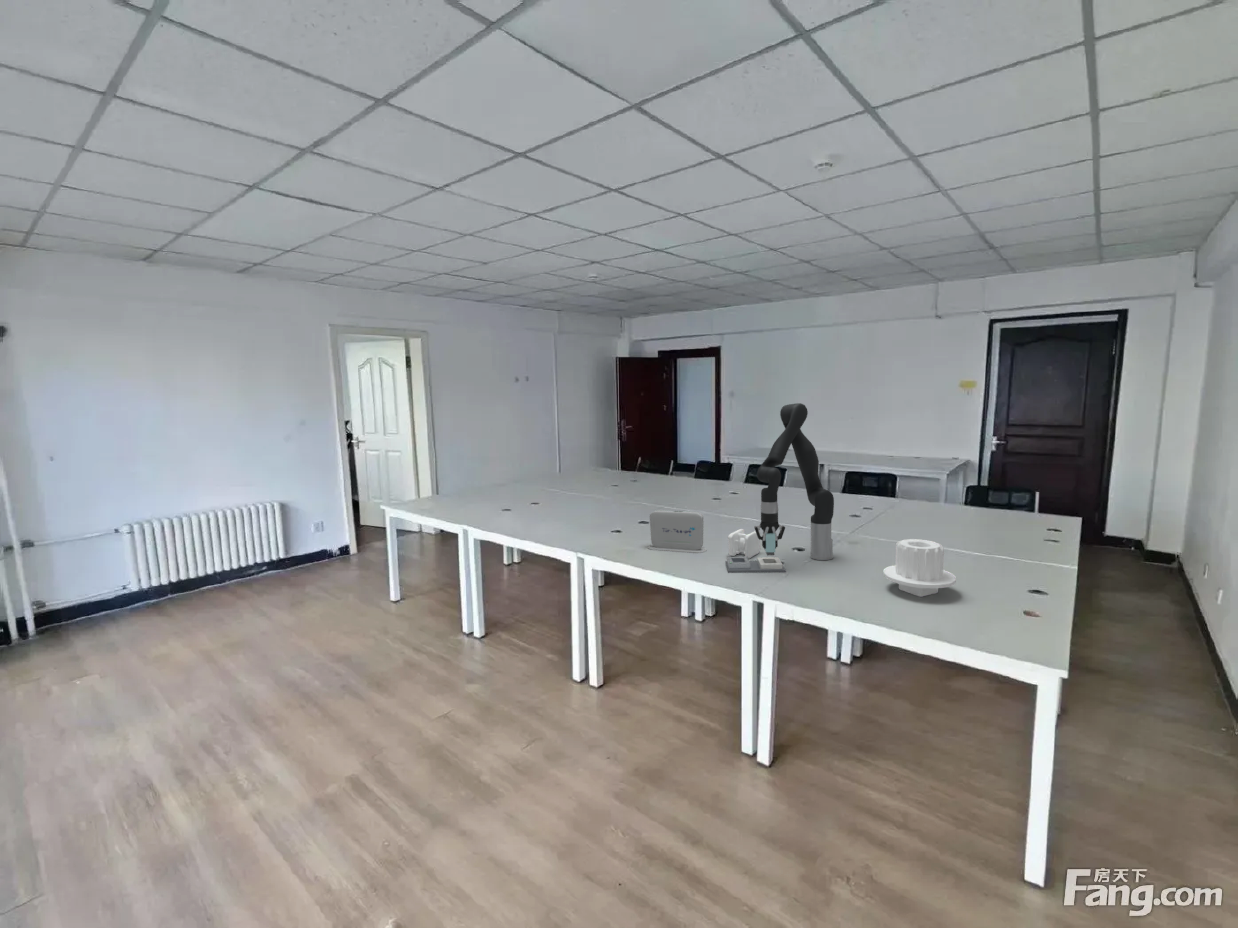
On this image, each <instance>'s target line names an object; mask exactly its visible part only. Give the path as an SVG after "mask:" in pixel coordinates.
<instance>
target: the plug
mask: <svg viewBox="0 0 1238 928" xmlns="http://www.w3.org/2000/svg"><path fill="white" fill-rule="evenodd" d="M765 541H766V549H764V551H765V554H766V556H775V553H776V549H775V533H767V534H766V539H765Z"/></svg>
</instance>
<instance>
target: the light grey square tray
mask: <svg viewBox="0 0 1238 928" xmlns="http://www.w3.org/2000/svg"><path fill="white" fill-rule="evenodd" d="M756 558H757V559H756V561H757V562H758V564H759V566H760V569H782V565H783V563H782V561H781V559H780V558H779V557H756Z"/></svg>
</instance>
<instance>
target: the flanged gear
mask: <svg viewBox="0 0 1238 928" xmlns="http://www.w3.org/2000/svg"><path fill="white" fill-rule="evenodd" d="M944 562H945V548H944V547H943V545H942V544H941V543H938V542H935V541H934V540H928V539H927V540H926V539H919V538H917V539H915V538H909V539H901V540H900V541H899V540H898V541H897V542H896V543H895V563H894V565H889V566H887V567H885V568H884V569H883V570H882V571H883V573H882V574H883V577H884V578H885V579H887V580H888V581H890V582H893V583H895V584H898V590H900V591H902V592H905V593H908V594H911V595H912V596H916V597H919V598H922V597H926V596H930V595H935V594H937V593H939V589H943V588H949V587H952V586H954V585H956V583H957V577H956V575H955V574H954V573H953V572H950V571H948V570H945V569H944Z"/></svg>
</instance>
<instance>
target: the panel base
mask: <svg viewBox="0 0 1238 928" xmlns="http://www.w3.org/2000/svg"><path fill="white" fill-rule="evenodd" d="M749 562H750V569H729V568H728V564H727V560H725V562H724V563H725V566H726V571H727V573H731V574H732V573H739V574H740V573H743V574H744V573H786V569H785V567H784V565H783V564H782V569H760V566H759V564H758V562H757V560H749Z"/></svg>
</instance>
